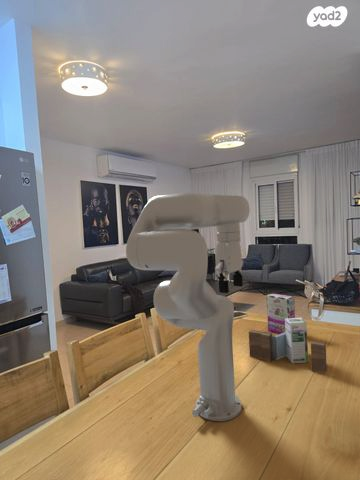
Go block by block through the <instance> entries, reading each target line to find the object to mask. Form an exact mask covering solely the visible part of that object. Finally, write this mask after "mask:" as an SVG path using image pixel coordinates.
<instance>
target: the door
mask: <svg viewBox="0 0 360 480" xmlns="http://www.w3.org/2000/svg"><path fill="white" fill-rule="evenodd" d="M272 346H273V359H272V360H273V361H276V360H279V359H281V358H284V357H287V348H286V332H284V333H281V334H276V335H273V334H272Z"/></svg>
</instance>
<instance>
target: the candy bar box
mask: <svg viewBox="0 0 360 480" xmlns="http://www.w3.org/2000/svg"><path fill="white" fill-rule="evenodd" d="M295 307H296V306H295V296H292V295H291V296H290V295H285V294H280V293H273V292H272V293H270V294H267V295H266V309H267V310H266V311H267V330H268V331H267V332H270V333H274V334H277V335H279V334H281V333H284V332H286V330H285V319H286V318H296V308H295Z"/></svg>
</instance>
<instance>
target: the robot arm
mask: <svg viewBox="0 0 360 480" xmlns="http://www.w3.org/2000/svg"><path fill="white" fill-rule="evenodd" d="M250 210H251V209H250V204H249V201H248V200H247V198H246V197H245V196H243V195H225V194H224V195H222V194H207V193H206V194H203V193H197V192H196V193H195V192H181V193H180V192H179V193H172V194H171V193H170V194H169V193H168V194H160V195H158V194H157V195H155V196H153V197H151V198H150V199H149V200H148V202H147V203H146V204H145V205H144V206H143V208H142V210H141V212H140V214H139V215H138V217H137V220H136V221H135V223H134V225H133V228H132V229H131V232H130V234H129V236H128V239H127V241H126V246H125V256H126V259H127V261H128V263H129V264H130V266H132V267H133V268H134V269H136V270H140V271H169V272H170V271H171V272H172V271H175V272H176V273H175V274H174V275H173V276H172V278H171V279H169V280H168V279H166V280H164V281H162V282H160V283H159V284H158V285H157V286H156V288H155V290H154V293H153V298H152V299H153V301H152V302H153V307H154V310H155V312H156V314H157V315H158V316H159V317H160V318H161V319H162V320H164V321H166V322H167V323H169V324H170V325H172V326H174V327H177V328H180V329H181V328H182V329H189V330H201V331H204V335H202V337H201V338H200V339H199V340H198V343H197V359H198V374H199V375H198V377H199V390H200V391H199V392H200V396H199V397H198V398H197V399H196V401H195V408H194V409H192V410H191V411H192V413H191V414H192V416H193V417H194V418H198V417H199V416H201V417H202V418H204V419H206V420H208V421H213V422H226V421H229V420H233V419H234V418H236V417H237V416H239V415H240V413H241V411H242V401H241V399H240V398H239V397H238V396H237V395H236V388H235V385H236V384H235V371H234V370H235V367H234V352H233V350H234V349H233V348H234V347H233V329H234V328H233V327H234V316H235V306H234V302H233V301H232V300H231V299H230V298H229V297H228V296H225V295H220V294H217V292H216V291H215V290H214V288H213V287H212V286H211V285H210V284H209V282H208V281H207V274H208V264H209V263H208V261H209V257H208V251H209V250H208V244H207V242H206V240H205V237H204V236H203V235H202V234H201V233H199V232H198V231H195V230H198V229H203V228H204V229H205V228H212V227H216V242H217V243H216V249H215V268H214V271H215V276H216V278H217V281H218V291H219V293H222V294H229V290H230V289H229V287H230V286H229V280H228V277H229V275H230V274H232V273H233V275H232V279H233V286H234V287H243V286H244V285H243V284H244V283H243V281H244V280H243V273H244V272H243V270H244V260H243V257H242V248H241V247H242V246H241V229H240V228H241V226H240V224H241V223H245V222H246V221H247V220H248V218H249V215H250Z"/></svg>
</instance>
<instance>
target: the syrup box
mask: <svg viewBox="0 0 360 480" xmlns="http://www.w3.org/2000/svg"><path fill="white" fill-rule="evenodd" d="M307 325H308V323H307V321H306V320H304V319H303V318H302V317H295V318H286V319H285V330H286V348H287V355H286V357H287V358H288V360H289V361H290V362H291V364H303V363H307V364H308V363H309V351H308V350H309V346H308V328H307V327H308V326H307Z"/></svg>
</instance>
